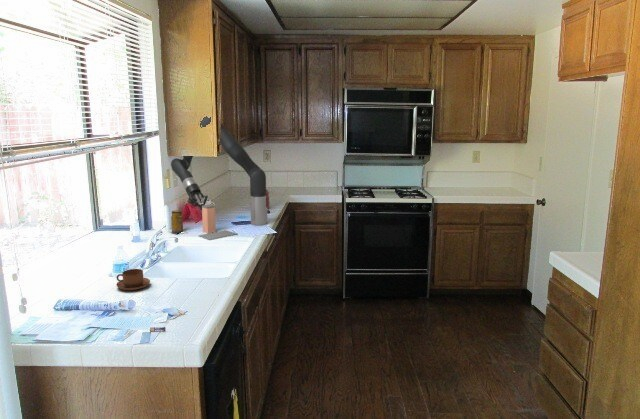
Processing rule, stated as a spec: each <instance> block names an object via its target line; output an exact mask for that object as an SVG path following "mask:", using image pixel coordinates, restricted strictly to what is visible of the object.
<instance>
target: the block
mask: <svg viewBox="0 0 640 419" xmlns="http://www.w3.org/2000/svg"><path fill="white" fill-rule="evenodd" d="M201 214H202V216H201V217H202V218H201V219H202V232H203V233H204V234H208V233H212V232H213V233H214V232H217V231H216V205H213V204H205V205H203V206H202V211H201Z"/></svg>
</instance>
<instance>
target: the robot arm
mask: <svg viewBox="0 0 640 419" xmlns="http://www.w3.org/2000/svg"><path fill="white" fill-rule="evenodd" d="M199 122H201V123H200V127H201V125H202V127H206V125H208V124H210V122H211V117H210V118H208V117H207V116H206V117H204V118H203V120H202V121H199ZM202 127H201V128H202ZM220 145H221V147H222V149H223V150H224V152H226V154H227V155H228V156H229V157H230V158H231V159H232V160H233V162H235V163H236V164H238V165H239V167H241V168H242V169H243V170H244V171H245V173H246V175H248V177H249V188H250V190H249V193H250V198H249V199H250V224H251V225H252V226H263V225H266V224H268V209H267V208H266V187H267V176H266V172H265V171H264V170H263V169H262V168H261V167H260V166H259V165H258V164H257V163H256V162H254V160H253V159H252V158H251V157H250V154H249V153H248V152H247V151H246V150H245V148H244V147H243V146H242V145H241V143H239V141H238V140H237V139H236V138H235V137H234V136H233V135H232V134H231V133H230V131H228V130H227V129H226V127H225V126H224V125H223V123H221V144H220ZM193 158H194V156H182V159H181V158H173V159H172V160H171V162H170V167H171V169H172V171H173V172H174V174H176V176H177V177H178V178H179V179H180V182H181V183H182V186H183V188H184V190H185V192H186V194H187V196H188V199H187V200H186V202H187V203H188V204H191V205H192V206H193V207H195V208H197V207H198V208H199V210H200V212H202V206H203V205H206V203H207V201H208V197H209V196H208V195H204V194H203V193H202V190H201V188H200V186H199V184H198V182H197V181H196V178H194V176H193V174H192V172H191V171H190V170H189V169H190V166H191V163H192V161H193Z"/></svg>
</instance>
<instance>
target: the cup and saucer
mask: <svg viewBox="0 0 640 419" xmlns="http://www.w3.org/2000/svg"><path fill="white" fill-rule="evenodd" d="M119 277H122V279H120V278H119ZM115 278H116V281H117V282H116V287H117V288H118V289H120V290H124V291H136V290H141V289H144V288H145V287H148V286H149V285H150V283H151V280H150V279H149V278H148V277H147V278H146V277H144V270H143V269H141V268H131V269H126V270H123V272H122V273H118V274H117V275H116V277H115Z"/></svg>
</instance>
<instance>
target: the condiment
mask: <svg viewBox="0 0 640 419" xmlns="http://www.w3.org/2000/svg"><path fill="white" fill-rule="evenodd" d="M170 218H171V220H170V221H171V231H169V234H170V233H171V234H174V235H178V234H177V233H181V232H183V231H184V233H183V234H187V233H188V231H185V230H184V223H183V221H184V218H183V212H182V210H178V209H177V210H172V211H171V217H170Z"/></svg>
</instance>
